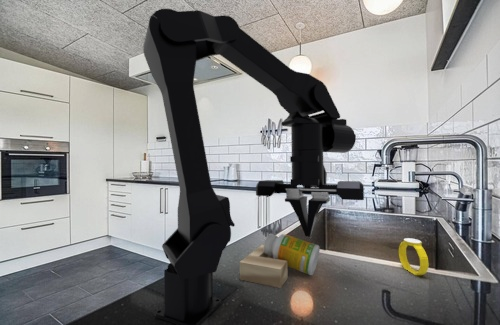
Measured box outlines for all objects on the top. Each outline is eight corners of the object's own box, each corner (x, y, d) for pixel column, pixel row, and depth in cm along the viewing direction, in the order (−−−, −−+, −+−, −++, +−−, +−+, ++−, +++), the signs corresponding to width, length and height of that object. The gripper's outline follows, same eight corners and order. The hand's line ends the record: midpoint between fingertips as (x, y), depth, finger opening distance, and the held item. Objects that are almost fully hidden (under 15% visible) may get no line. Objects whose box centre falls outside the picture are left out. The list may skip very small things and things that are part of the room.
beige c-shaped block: (280, 288, 39) (280, 269, 39) (239, 279, 42) (239, 262, 42) (300, 258, 51) (300, 244, 51) (268, 253, 54) (268, 240, 55)
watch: (432, 280, 42) (433, 246, 41) (417, 280, 42) (417, 247, 41) (408, 264, 48) (408, 234, 47) (394, 264, 48) (395, 235, 47)
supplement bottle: (314, 254, 40) (263, 236, 45) (310, 282, 41) (260, 261, 46) (321, 240, 45) (274, 225, 50) (317, 266, 46) (271, 249, 51)
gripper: (362, 152, 48) (364, 231, 47) (274, 155, 56) (274, 222, 55) (362, 147, 37) (364, 248, 37) (254, 152, 46) (255, 234, 45)
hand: (308, 236), depth 44 cm, fingers closed
